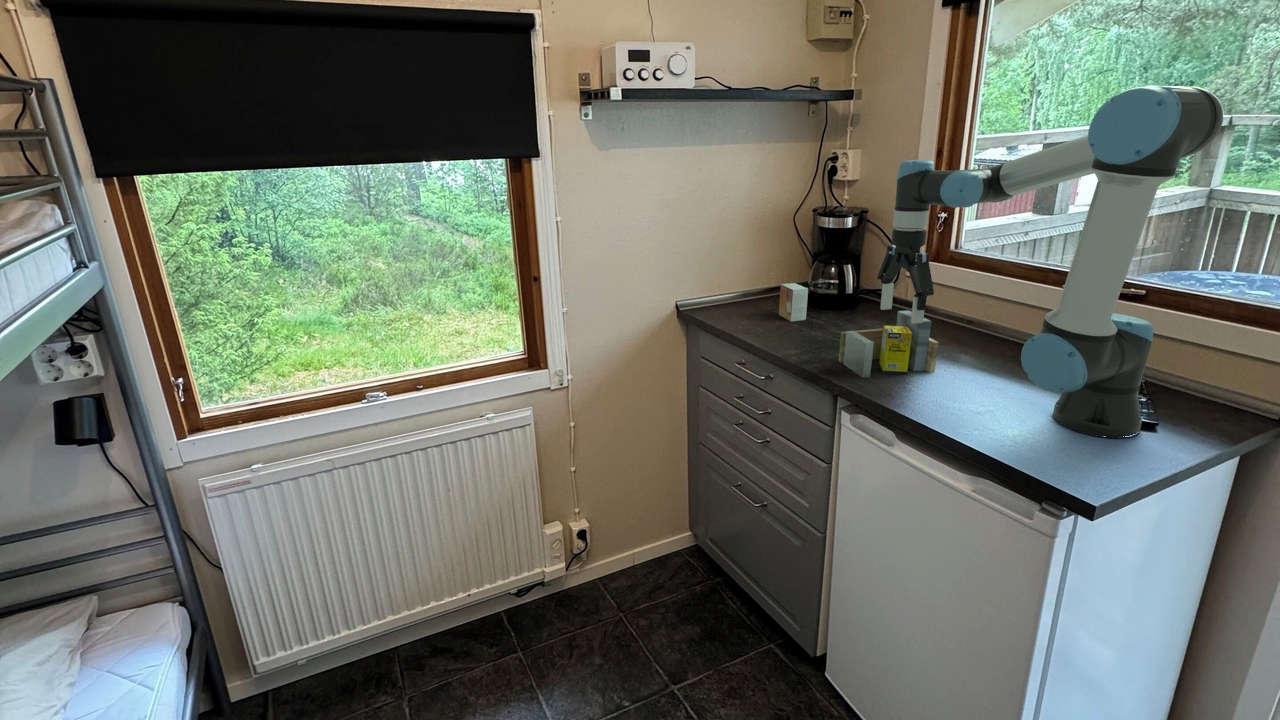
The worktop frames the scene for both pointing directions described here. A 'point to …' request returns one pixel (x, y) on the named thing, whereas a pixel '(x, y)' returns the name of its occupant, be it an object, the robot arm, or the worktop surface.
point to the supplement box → (895, 349)
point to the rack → (920, 349)
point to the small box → (793, 302)
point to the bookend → (858, 353)
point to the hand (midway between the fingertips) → (900, 315)
